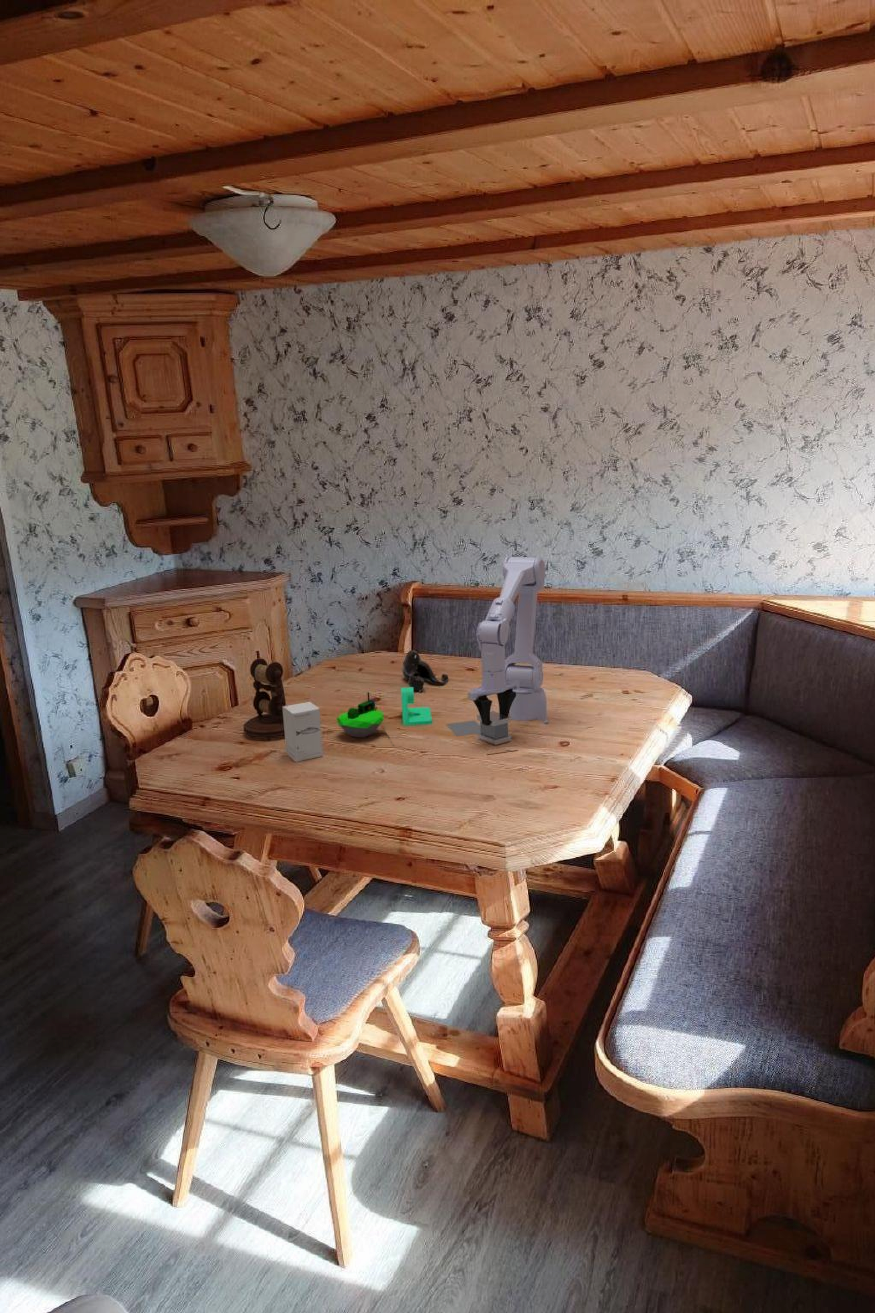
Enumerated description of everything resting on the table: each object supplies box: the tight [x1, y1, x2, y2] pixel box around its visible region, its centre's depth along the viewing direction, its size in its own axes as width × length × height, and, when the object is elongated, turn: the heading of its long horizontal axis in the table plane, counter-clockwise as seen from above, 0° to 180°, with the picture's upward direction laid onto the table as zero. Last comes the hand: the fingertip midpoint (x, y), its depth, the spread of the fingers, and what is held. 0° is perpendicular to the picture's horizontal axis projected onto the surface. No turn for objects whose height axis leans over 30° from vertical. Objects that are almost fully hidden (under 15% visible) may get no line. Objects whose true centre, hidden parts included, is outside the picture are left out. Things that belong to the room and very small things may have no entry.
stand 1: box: [445, 719, 481, 737], centre depth 240 cm, size 8×10×2 cm
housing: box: [476, 711, 512, 745], centre depth 229 cm, size 5×7×6 cm
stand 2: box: [474, 735, 519, 756], centre depth 230 cm, size 8×10×2 cm
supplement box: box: [282, 701, 324, 763], centre depth 228 cm, size 7×7×13 cm
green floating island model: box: [336, 691, 384, 739], centre depth 241 cm, size 12×12×11 cm
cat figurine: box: [401, 649, 449, 694], centre depth 285 cm, size 10×14×18 cm
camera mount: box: [400, 686, 433, 727], centre depth 249 cm, size 12×8×10 cm, turn 3°
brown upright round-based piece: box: [242, 657, 287, 742], centre depth 245 cm, size 15×15×20 cm
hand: (494, 722), depth 228 cm, fingers closed on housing, 5 cm apart
